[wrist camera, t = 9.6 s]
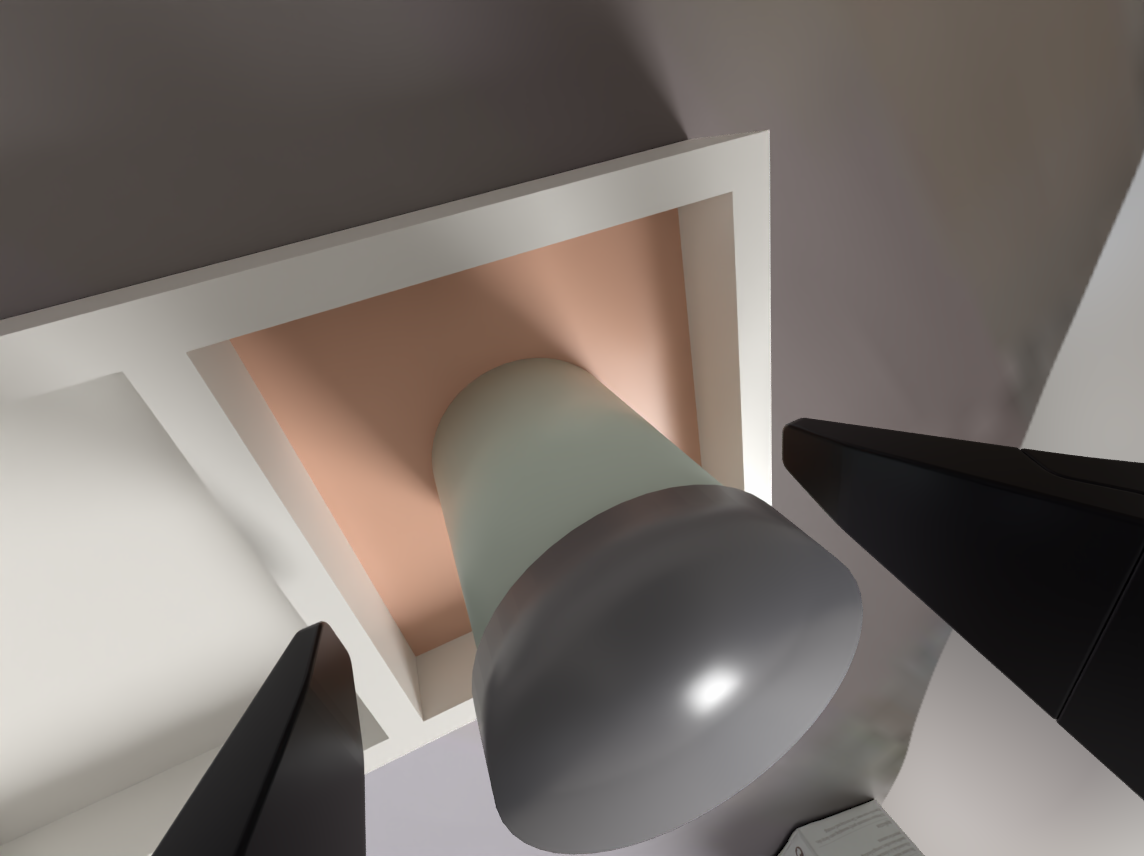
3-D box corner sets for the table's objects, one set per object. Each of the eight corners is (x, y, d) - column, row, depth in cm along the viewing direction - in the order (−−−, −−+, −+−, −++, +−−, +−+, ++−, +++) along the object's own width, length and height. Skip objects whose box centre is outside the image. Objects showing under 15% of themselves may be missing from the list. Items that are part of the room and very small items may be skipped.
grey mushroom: (463, 568, 13) (554, 904, 7) (385, 394, 10) (421, 691, 4) (639, 492, 14) (848, 728, 8) (607, 318, 11) (881, 473, 5)
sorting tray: (-12, 855, 12) (-90, 999, 10) (-689, 500, 6) (-1193, 655, 4) (718, 522, 16) (772, 573, 14) (690, 139, 11) (769, 129, 9)
